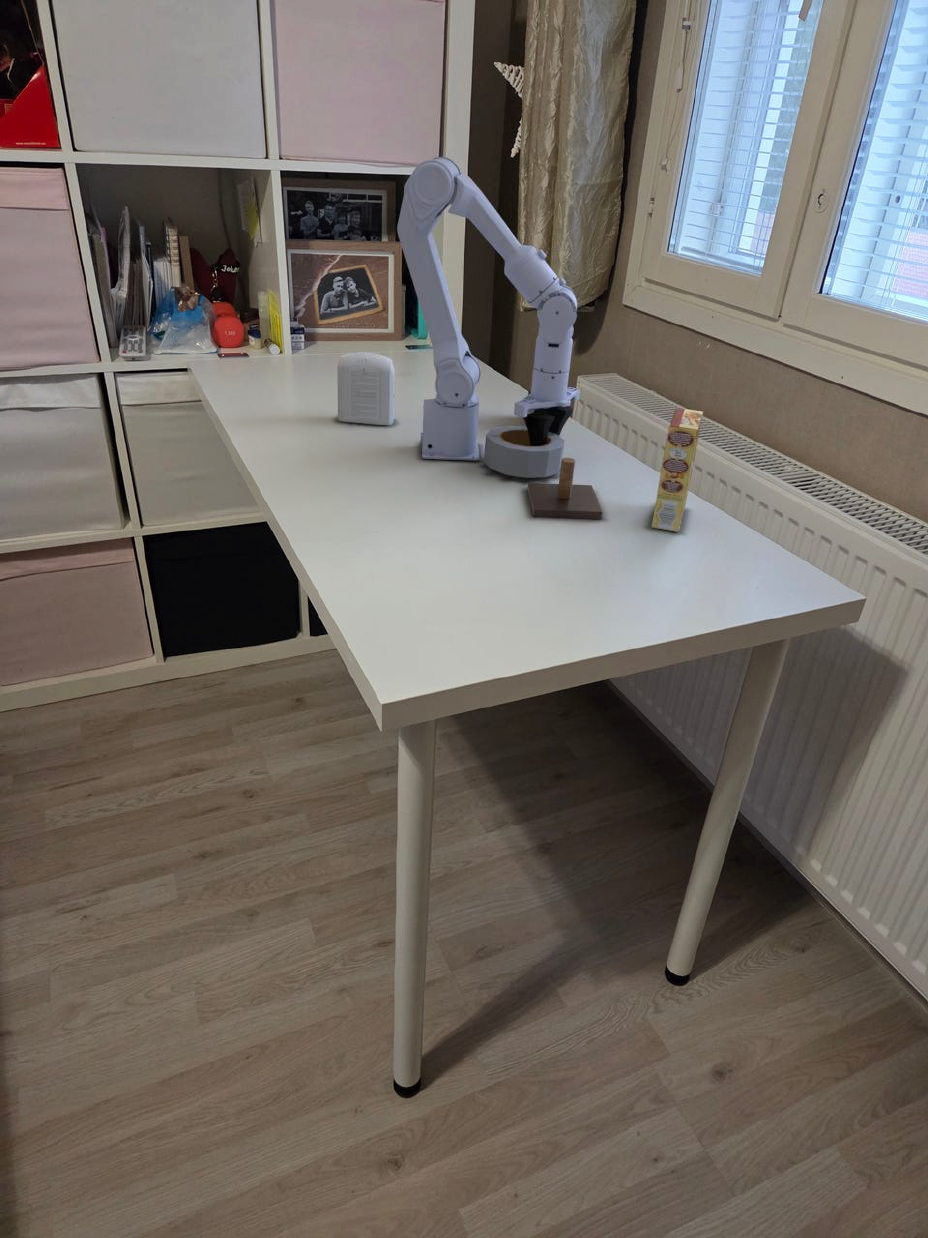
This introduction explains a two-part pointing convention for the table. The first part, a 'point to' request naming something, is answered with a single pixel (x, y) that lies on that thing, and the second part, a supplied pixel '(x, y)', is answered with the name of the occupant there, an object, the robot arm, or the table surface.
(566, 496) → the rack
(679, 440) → the candy box
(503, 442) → the tape roll
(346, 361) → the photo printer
